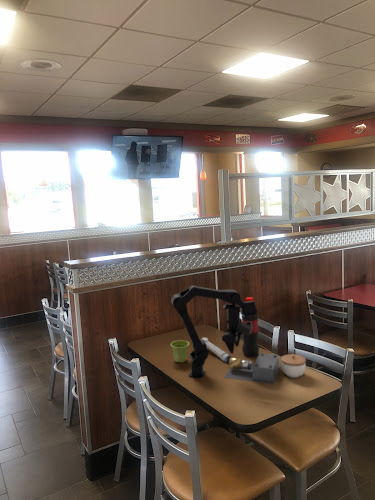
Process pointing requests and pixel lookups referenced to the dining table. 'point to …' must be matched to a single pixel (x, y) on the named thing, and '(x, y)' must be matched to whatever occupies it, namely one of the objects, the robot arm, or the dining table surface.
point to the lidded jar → (293, 365)
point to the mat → (244, 375)
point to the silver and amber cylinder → (240, 364)
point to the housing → (265, 367)
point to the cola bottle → (250, 341)
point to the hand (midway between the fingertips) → (234, 349)
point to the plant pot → (180, 350)
